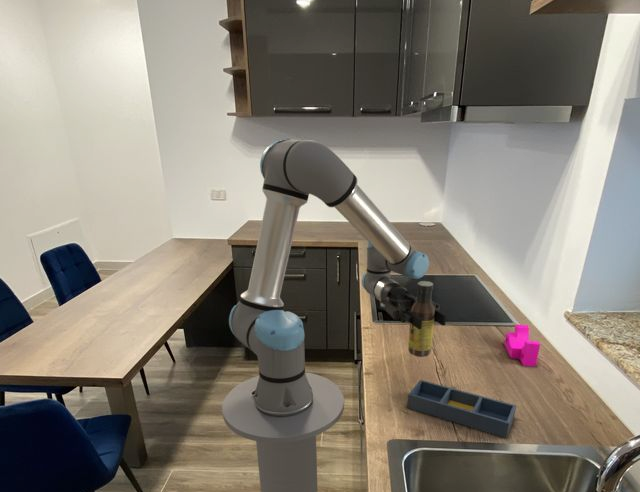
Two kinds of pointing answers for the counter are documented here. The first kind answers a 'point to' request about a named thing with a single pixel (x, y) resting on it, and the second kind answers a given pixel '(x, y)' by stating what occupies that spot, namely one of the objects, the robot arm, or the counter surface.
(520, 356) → the toy block
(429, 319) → the sauce bottle
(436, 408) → the compartment tray
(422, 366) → the counter surface
